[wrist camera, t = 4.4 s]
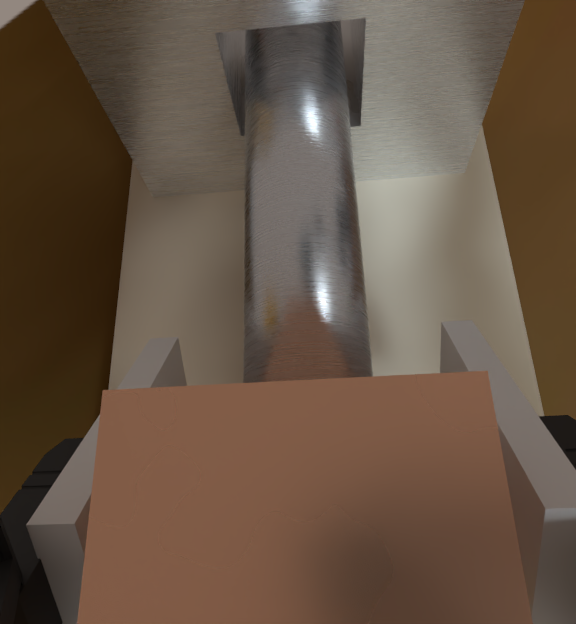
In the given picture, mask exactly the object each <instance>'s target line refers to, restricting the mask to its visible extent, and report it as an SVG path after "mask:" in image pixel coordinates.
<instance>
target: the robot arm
mask: <svg viewBox="0 0 576 624" xmlns="http://www.w3.org/2000/svg"><path fill="white" fill-rule="evenodd" d="M471 371H488V375H489V381H490V386H491V392H492V398H493V403H494V409H495V414H496V420H497V426H498V431H499V437H500V442H501V448H502V454H503V459H504V465H505V470H506V476H507V482H508V487H509V493H510V498H511V504H512V510H513V515H514V521H515V526H516V532H517V538H518V543H519V549H520V554H521V560H522V566H523V571H524V577H525V582H526V588H527V594H528V599H529V605H530V610H531V616H532V622H533V624H576V420H574V419H573V418H571V417H570V416H568V415H560V416H538V415H537V413H536V412H535V411H534V409H533V408H532V406H531V405H530V403H529V402H528V400H527V399H526V398H525V396H524V395H523V393H522V392H521V390H520V389H519V387H518V386H517V385H516V383H515V382H514V380H513V379H512V377H511V376H510V374H509V373H508V372H507V370H506V369H505V367H504V366H503V364H502V363H501V362H500V360H499V359H498V357H497V356H496V354H495V353H494V351H493V350H492V349H491V347H490V346H489V344H488V343H487V341H486V340H485V338H484V337H483V336H482V334H481V333H480V331H479V330H478V328H477V327H476V325H475V324H474V323H473V321H472V320H464V321H447V322H441V353H440V373H451V372H471ZM174 386H187V383H186V378H185V372H184V367H183V361H182V355H181V350H180V344H179V339H178V337H168V338H151V339H150V340H149V341H148V343H147V344H146V346H145V347H144V349H143V350H142V352H141V353H140V355H139V356H138V358H137V359H136V361H135V362H134V364H133V365H132V367H131V368H130V370H129V371H128V373H127V374H126V376H125V377H124V379H123V380H122V382H121V383H120V385H119V386H118V388H117V389H135V388H154V387H174ZM99 420H100V415H99V416H98V418H97V419H96V421H95V422H94V424H93V425H92V427H91V428H90V430H89V431H88V433H87V434H86V436H85V437H84V438H73V439H65V440H63V441H62V442H61V443H60V444H58V445H57V446H56V447H54V448H53V449H52V450H50V451H49V452H48V453H46V454H45V455H44V457H43V458H42V459H41V461H40V462H39V463H38V465H37V466H36V468H35V469H34V470H33V473H32V475H30V476H29V477H28V478H27V480H26V481H25V482H24V484H23V485H22V489H21V490H18V492H17V493H16V494H15V496H14V497H13V498H12V500H11V501H10V503H9V504H8V505H7V507H6V508H5V509H4V511H3V512H2V513H1V515H0V624H77V619H78V610H79V601H80V592H81V583H82V574H83V565H84V556H85V547H86V538H87V529H88V520H89V510H90V501H91V492H92V483H93V474H94V465H95V456H96V447H97V438H98V429H99Z"/></svg>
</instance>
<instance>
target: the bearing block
mask: <svg viewBox="0 0 576 624" xmlns="http://www.w3.org/2000/svg"><path fill="white" fill-rule="evenodd" d="M43 1H44V3H45V5H46V6H47V8H48V10H49V12H50V14H51V15H52V17H53V19H54V21H55V22H56V24H57V26H58V28H59V30H60V31H61V33H62V35H63V37H64V39H65V40H66V42H67V44H68V46H69V47H70V49H71V51H72V53H73V55H74V56H75V58H76V60H77V62H78V64H79V65H80V67H81V69H82V71H83V73H84V74H85V76H86V78H87V80H88V81H89V83H90V85H91V87H92V89H93V90H94V92H95V94H96V96H97V98H98V99H99V101H100V103H101V105H102V106H103V108H104V110H105V112H106V114H107V115H108V117H109V119H110V121H111V123H112V124H113V126H114V128H115V130H116V132H117V133H118V135H119V137H120V139H121V140H122V142H123V144H124V146H125V148H126V149H127V151H128V153H129V155H130V157H131V158H132V160H133V162H134V164H135V166H136V167H137V169H138V171H139V173H140V174H141V176H142V178H143V180H144V182H145V183H146V185H147V187H148V189H149V191H150V192H151V194H152V196H153V197H164V196H177V195H190V194H202V193H215V192H228V191H241V190H244V177H245V30H250V29H260V28H270V27H280V26H290V25H300V24H310V23H320V22H330V21H340V20H341V30H342V41H343V51H344V62H345V73H346V84H347V95H348V106H349V117H350V127H351V138H352V149H353V160H354V171H355V182H357V181H370V180H383V179H396V178H409V177H422V176H435V175H448V174H460V173H465V171H466V168H467V165H468V162H469V159H470V156H471V153H472V150H473V148H474V145H475V142H476V139H477V136H478V133H479V130H480V127H481V125H482V122H483V119H484V116H485V113H486V110H487V107H488V104H489V101H490V99H491V96H492V93H493V90H494V87H495V84H496V81H497V78H498V76H499V73H500V70H501V67H502V64H503V61H504V58H505V55H506V53H507V50H508V47H509V44H510V41H511V38H512V35H513V32H514V29H515V27H516V24H517V21H518V18H519V15H520V12H521V9H522V6H523V4H524V1H525V0H43Z"/></svg>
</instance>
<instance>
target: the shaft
mask: <svg viewBox="0 0 576 624" xmlns="http://www.w3.org/2000/svg"><path fill="white" fill-rule="evenodd" d="M77 624H533V622H532V616H531V610H530V605H529V599H528V594H527V588H526V582H525V577H524V571H523V566H522V560H521V554H520V549H519V543H518V538H517V532H516V526H515V521H514V515H513V510H512V504H511V498H510V493H509V487H508V482H507V476H506V470H505V465H504V459H503V454H502V448H501V442H500V437H499V431H498V426H497V420H496V414H495V409H494V403H493V398H492V392H491V386H490V381H489V375H488V371H471V372H451V373H431V374H411V375H392V376H373V367H372V356H371V345H370V334H369V323H368V312H367V301H366V290H365V280H364V269H363V258H362V247H361V236H360V225H359V214H358V204H357V193H356V182H355V171H354V160H353V149H352V138H351V127H350V117H349V106H348V95H347V84H346V73H345V62H344V51H343V41H342V30H341V20H340V21H330V22H320V23H310V24H300V25H290V26H280V27H270V28H260V29H250V30H245V177H244V356H243V383H233V384H214V385H194V386H174V387H154V388H135V389H115V390H103V392H102V401H101V410H100V420H99V429H98V438H97V447H96V456H95V465H94V474H93V483H92V492H91V501H90V510H89V520H88V529H87V538H86V547H85V556H84V565H83V574H82V583H81V592H80V601H79V610H78V619H77Z"/></svg>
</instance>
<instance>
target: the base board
mask: <svg viewBox="0 0 576 624" xmlns="http://www.w3.org/2000/svg"><path fill="white" fill-rule="evenodd" d="M356 193H357V204H358V214H359V225H360V236H361V247H362V258H363V269H364V280H365V290H366V301H367V312H368V323H369V334H370V345H371V356H372V367H373V376H392V375H411V374H431V373H440V353H441V322H447V321H464V320H472V321H473V323H474V324H475V325H476V327H477V328H478V330H479V331H480V333H481V334H482V336H483V337H484V338H485V340H486V341H487V343H488V344H489V346H490V347H491V349H492V350H493V351H494V353H495V354H496V356H497V357H498V359H499V360H500V362H501V363H502V364H503V366H504V367H505V369H506V370H507V372H508V373H509V374H510V376H511V377H512V379H513V380H514V382H515V383H516V385H517V386H518V387H519V389H520V390H521V392H522V393H523V395H524V396H525V398H526V399H527V400H528V402H529V403H530V405H531V406H532V408H533V409H534V411H535V412H536V413H537V415H538V416H544V413H543V408H542V403H541V399H540V394H539V389H538V385H537V380H536V375H535V371H534V366H533V361H532V357H531V352H530V347H529V343H528V338H527V333H526V329H525V324H524V319H523V315H522V310H521V305H520V301H519V296H518V291H517V287H516V282H515V277H514V273H513V268H512V263H511V258H510V254H509V249H508V244H507V240H506V235H505V230H504V226H503V221H502V216H501V212H500V207H499V202H498V198H497V193H496V188H495V184H494V179H493V174H492V170H491V165H490V160H489V156H488V151H487V146H486V142H485V137H484V132H483V128H482V125H481V127H480V130H479V133H478V136H477V139H476V142H475V145H474V148H473V150H472V153H471V156H470V159H469V162H468V165H467V168H466V171H465V173H460V174H448V175H435V176H422V177H409V178H396V179H383V180H370V181H357V182H356ZM168 337H178V339H179V344H180V350H181V355H182V361H183V367H184V372H185V378H186V383H187V386H194V385H214V384H233V383H243V356H244V190H241V191H228V192H215V193H202V194H190V195H177V196H164V197H153V196H152V194H151V192H150V191H149V189H148V187H147V185H146V183H145V182H144V180H143V178H142V176H141V174H140V173H139V171H138V169H137V167H136V166H135V164H134V162H132V171H131V181H130V190H129V200H128V209H127V218H126V228H125V237H124V247H123V256H122V266H121V275H120V285H119V294H118V303H117V313H116V322H115V332H114V341H113V351H112V360H111V370H110V379H109V388H108V390H115V389H117V388H118V386H119V385H120V383H121V382H122V380H123V379H124V377H125V376H126V374H127V373H128V371H129V370H130V368H131V367H132V365H133V364H134V362H135V361H136V359H137V358H138V356H139V355H140V353H141V352H142V350H143V349H144V347H145V346H146V344H147V343H148V341H149V340H150V339H151V338H168Z"/></svg>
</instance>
